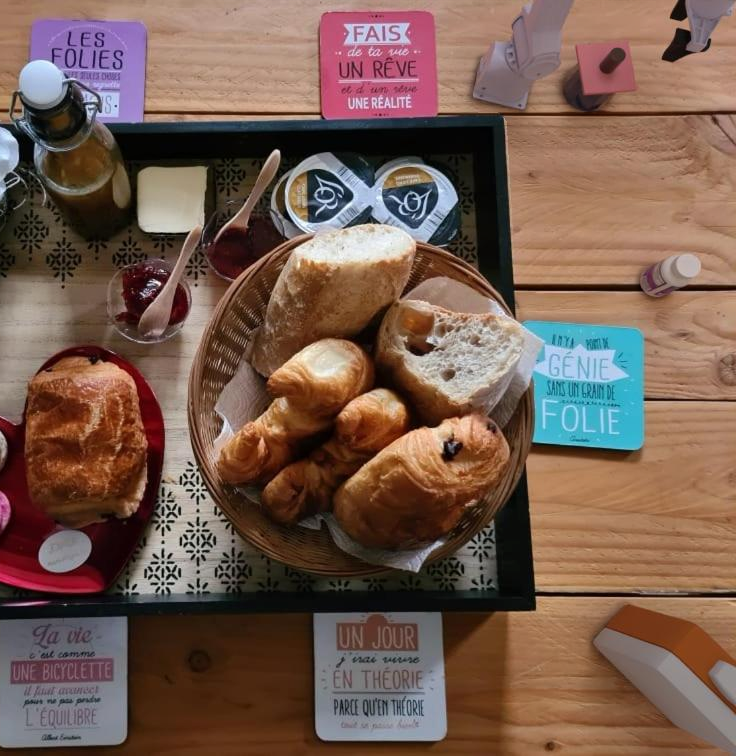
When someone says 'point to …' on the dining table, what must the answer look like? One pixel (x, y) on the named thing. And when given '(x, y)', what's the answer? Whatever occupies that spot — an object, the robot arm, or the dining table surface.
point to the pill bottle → (670, 274)
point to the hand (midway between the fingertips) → (671, 38)
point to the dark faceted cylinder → (575, 93)
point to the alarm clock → (676, 671)
